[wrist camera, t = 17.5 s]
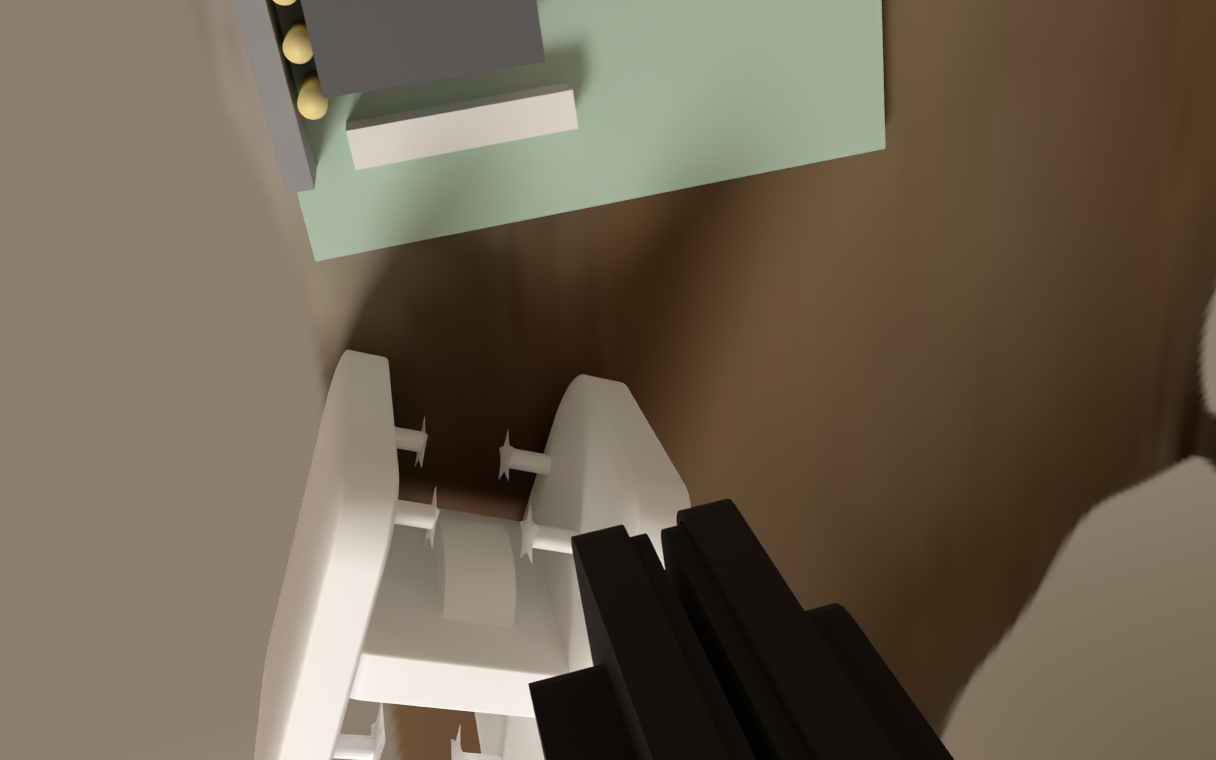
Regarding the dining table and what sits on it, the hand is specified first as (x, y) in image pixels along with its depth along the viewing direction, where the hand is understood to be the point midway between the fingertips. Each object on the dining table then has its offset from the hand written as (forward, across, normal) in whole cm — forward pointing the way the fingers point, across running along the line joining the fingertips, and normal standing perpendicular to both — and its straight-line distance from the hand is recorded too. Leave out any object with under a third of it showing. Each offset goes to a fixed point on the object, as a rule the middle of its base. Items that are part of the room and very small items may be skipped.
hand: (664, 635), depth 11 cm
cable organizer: (+27, +3, +14) cm, 31 cm away
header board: (+27, -5, -4) cm, 28 cm away
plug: (+26, 0, -5) cm, 27 cm away
